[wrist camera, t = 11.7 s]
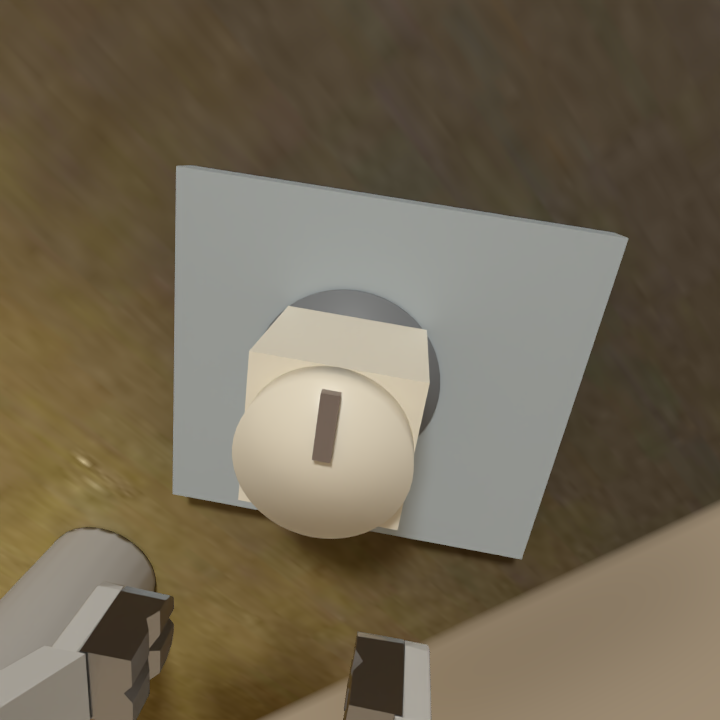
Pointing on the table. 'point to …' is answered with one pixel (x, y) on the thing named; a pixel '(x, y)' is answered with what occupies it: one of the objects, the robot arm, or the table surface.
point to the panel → (401, 307)
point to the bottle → (66, 587)
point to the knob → (331, 422)
